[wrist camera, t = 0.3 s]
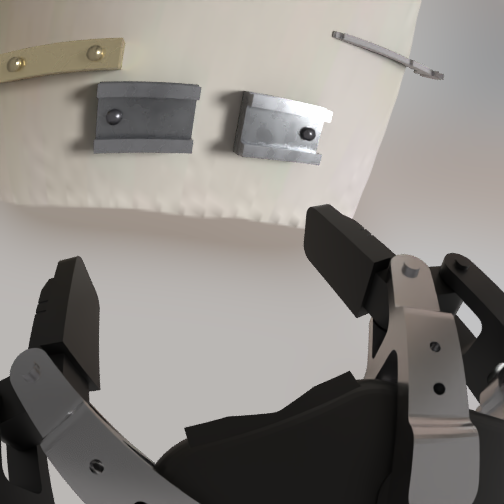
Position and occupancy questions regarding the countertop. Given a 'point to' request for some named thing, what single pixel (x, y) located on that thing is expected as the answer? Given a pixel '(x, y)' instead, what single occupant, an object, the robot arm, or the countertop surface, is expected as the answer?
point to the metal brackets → (182, 116)
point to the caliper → (390, 55)
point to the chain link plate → (62, 58)
